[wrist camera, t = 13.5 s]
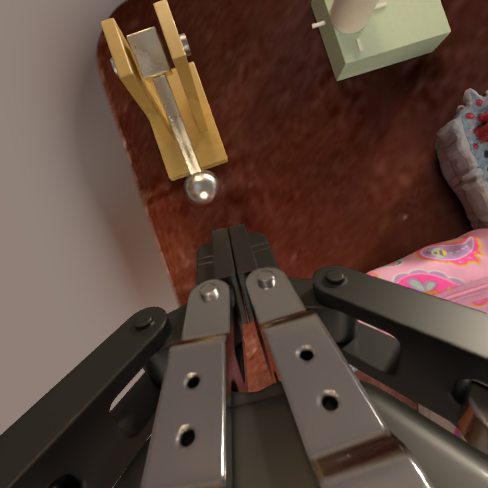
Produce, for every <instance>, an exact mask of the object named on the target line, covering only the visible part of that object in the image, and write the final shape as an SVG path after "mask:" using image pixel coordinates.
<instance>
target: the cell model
mask: <svg viewBox="0 0 488 488" xmlns="http://www.w3.org/2000/svg"><path fill="white" fill-rule="evenodd" d="M463 102H464V105H465V106H463V105H461V106H459V107H458V108H457V109H456V113H457V114H456V116H455V117H454V118H453V120H452V121H450V122H448V123H447V124H446V125H445V126H444V127H443V128H441V129H440V130H439V131H437V137H436V139H435V141H434V147H435V149H436V151H437V157H438V159H439V161H440V168H441V171H442V174H443V177H444V178H445V180H446V181H447V183H448V186H450V187H451V189H452V190H453V192H454V193H455V194H456V195H457V197H458V198H459V200H460V201H461V203H462V204H463V207H464V209H465V212H466V216H467V218H468V219H469V220H470V226H471V227H472V228H473V230H477V229H483V228H484V229H488V91H486V92H484V93H483V95H482V96H480V95H479V94H478V93H477V92H476V91H475V90H473V89H471V88H470V89H468V90H466V91H465V93H464V96H463Z"/></svg>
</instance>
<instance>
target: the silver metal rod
mask: <svg viewBox="0 0 488 488" xmlns="http://www.w3.org/2000/svg"><path fill="white" fill-rule="evenodd" d="M126 37H127V40H128V42H129V45H130V47H131V50H132V52H133V54H134V57H135V59H136V62H137V64H138V67H139V69H140V71H141V74H142V76H143V79H144V80H146V81H147V82H149V83H150V82H154V85H155V87H156V90H157V92H158V95H159V97H160V100H161V102H162V105H163V107H164V110H165V112H166V115H167V117H168V120H169V122H170V125H171V127H172V130H173V132H174V135H175V137H176V140H177V143H178V145H179V148H180V150H181V153H182V155H183V158H184V160H185V163H186V165H187V168H188V170H189V173H190V174H189V175H188V176H187V178H186V180H185V182H184V186H183V190H184V195H185V197H186V199H187V200H188V201H189V202H190V203H191V204H192V205H194V206H196V207H199V208H206V207H210V206H212V205H214V204H215V203H216V202H217V201H218V199H219V197H220V195H221V184H220V181H219V179H218V178H217V176H216V175H215V174H213V173H212V172H210V171H207V170H202V169H201V167H200V164H199V161H198V159H197V156H196V153H195V151H194V148H193V145H192V143H191V140H190V137H189V135H188V132H187V129H186V127H185V124H184V121H183V119H182V116H181V113H180V111H179V108H178V105H177V103H176V100H175V97H174V94H173V92H172V89H171V86H170V84H169V81H168V78H167V76H170V75H173V72H172V69H171V66H170V64H169V61H168V58H167V55H166V53H165V50H164V47H163V44H162V42H161V39H160V36H159V34H158V32H157V30H156V28H155V27H151V28H148V29H145V30H142V31H139V32H136V33H133V34H130V35H127V36H126Z"/></svg>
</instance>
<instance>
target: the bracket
mask: <svg viewBox="0 0 488 488" xmlns="http://www.w3.org/2000/svg"><path fill="white" fill-rule="evenodd" d="M153 5H154V8H155V11H156V14H157V17H158V19H159V22H160V25H161V28H162V31H163V34H164V37H165V39H166V42H167V45H168V48H169V51H170V54H171V57H172V60H173V62H174V65H175V68H174V69H172V72H173V75H170V76H167V78H168V81H169V84H170V86H171V89H172V92H173V94H174V97H175V100H176V103H177V105H178V108H179V111H180V113H181V116H182V119H183V121H184V124H185V127H186V129H187V132H188V135H189V137H190V140H191V143H192V145H193V148H194V151H195V153H196V156H197V159H198V161H199V164H200V167H201V169H202V170H206V169H209V168H212V167H214V166H217V165H220V164H223V163H226V162H228V159H227V155H226V153H225V150H224V147H223V144H222V141H221V138H220V135H219V133H218V130H217V127H216V124H215V121H214V118H213V116H212V113H211V110H210V107H209V104H208V101H207V99H206V96H205V93H204V90H203V87H202V84H201V81H200V79H199V76H198V73H197V70H196V67H195V64H194V62H191V63H188V61H187V57H186V56H189V55H191V51H190V48H189V45H188V42H187V39H186V36H185V34H184V33H183V34H181V35H179V34H178V31H177V28H176V26H175V23H174V20H173V17H172V14H171V11H170V9H169V6H168V3H167V0H162V1H159V2H156V3H154V4H153ZM101 25H102V28H103V31H104V34H105V37H106V40H107V43H108V46H109V49H110V52H111V55H112V58H111V59H110V62H111V65H112V67H113V70H114V72H115V73H116V75H117V77H118V78H119V79H121V81H122V82H123V84H124V85H125V86H126V88H127V89H128V91H129V92H130V93H131V95H132V96H133V98H134V99H135V100H136V102H137V103H138V105H139V106H140V107H141V109H142V110H143V112H144V113H145V114H146V116H147V117H148V118H149V120H150V123H151V126H152V129H153V132H154V135H155V138H156V141H157V144H158V147H159V150H160V153H161V155H162V158H163V161H164V164H165V167H166V170H167V173H168V176H169V178H170V179H171V180H172V181H174V180H177V179H180V178H183V177H186V176H188V175H189V174H190V173H189V170H188V168H187V165H186V163H185V160H184V158H183V155H182V153H181V150H180V148H179V145H178V143H177V140H176V137H175V135H174V132H173V130H172V127H171V125H170V122H169V120H168V117H167V115H166V112H165V110H164V107H163V105H162V102H161V100H160V97H159V95H158V92H157V90H156V87H155V85H154V82H150V83H149V82H147V81H146V80H144V79H143V76H142V74H141V71H140V69H139V67H138V64H137V62H136V59H135V57H134V54H133V52H132V50H131V48H130V47H129V45H128V43H127V41H126V39H125V38H124V36H123V34H122V32H121V31H120V29H119V27H118V25H117V23H116V22H115V20H114V18H110V19H107V20H105V21H102V22H101Z"/></svg>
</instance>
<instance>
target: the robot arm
mask: <svg viewBox="0 0 488 488" xmlns="http://www.w3.org/2000/svg"><path fill="white" fill-rule="evenodd" d="M229 231H230V235H229ZM229 231H228V228H223V229H219V230H215V231H211V233H212V242H211V243H207V244H202V246H201V247H200V249H199V250H198V252H197V277H196V286H195V287H194V288H193V289H192V291H191V292H190V294H189V298H188V303H186V304H185V305H184V306H182V307H180V308H178V309H176V310H174V311H172V312H170V313H168V314H167V313H166V312H165V310H163V309H162V308H159V307H149V308H146V309H143V310H140V311H139V312H137V313H135V314H134V315H133V316H131V317H130V318H129V319H128V320H127V321H126V322H125V323H124V324H122V325H121V326H120V327H119V328H118V329H117V330H116V331H115V332H114V333H113V334H111V335H110V336H109V337H108V338H107V339H106V340H105V341H104V342H103V343H102V344H100V345H99V346H98V347H97V348H96V349H95V350H94V351H93V352H92V353H91V354H89V355H88V356H87V357H86V358H85V359H84V360H83V361H82V362H81V363H80V364H79V365H78V366H76V367H75V368H74V369H73V370H72V371H71V372H70V373H69V374H67V375H66V376H65V377H64V378H63V379H62V380H61V381H60V382H59V383H58V384H56V386H54V387H53V388H52V389H51V390H50V391H49V392H48V393H47V394H45V395H44V396H43V397H42V398H41V399H40V400H39V401H38V402H37V403H36V404H34V405H33V406H32V407H31V408H30V409H29V410H28V411H27V412H26V413H25V414H24V415H22V416H21V417H20V418H19V419H18V420H17V421H16V422H15V423H14V424H13V425H11V426H10V427H9V428H8V429H7V430H6V431H5V432H4V433H3V434H2V435H0V488H112V487H113V486H114V485H115V486H114V487H113V488H488V313H486V312H483V311H480V310H477V309H474V308H471V307H468V306H464V305H461V304H458V303H455V302H452V301H449V300H446V299H443V298H440V297H437V296H433V295H430V294H427V293H424V292H421V291H418V290H415V289H412V288H409V287H406V286H402V285H399V284H396V283H393V282H390V281H387V280H384V279H381V278H378V277H375V276H372V275H368V274H365V273H362V272H359V271H356V270H353V269H350V268H347V267H343V266H326V267H323V268H321V269H319V270H317V271H316V272H315V273H314V275H313V278H312V279H295V278H291V277H288V276H286V274H285V273H284V271H282V270H281V269H279V266H278V264H277V262H276V259H275V257H274V254H273V252H272V250H271V247H270V245H269V243H268V240H267V238H266V236H265V235H263V234H262V233H260V232H259V231H258V232H254V233H250V234H248V233H247V230H246V227H245V224H240V225H236V226H232V227H229ZM230 237H231V240H230ZM231 242H232V244H231ZM232 247H233V248H232ZM242 294H243V295H242ZM243 298H244V300H243ZM244 302H245V305H244ZM245 306H246V310H247V314H248V318H249V322H255V326H256V330H257V334H258V338H259V342H260V345H261V348H262V351H263V354H264V357H265V361H266V364H267V367H268V370H269V373H270V376H271V379H272V382H273V384H272V385H270V386H268V387H266V388H264V389H262V390H261V391H258V392H248V383H247V369H246V355H245V343H244V338H243V336H244V332H243V326H242V324H246V323H248V321H247V315H246V310H245ZM358 320H360V321H362V322H364V323H367V324H369V325H371V326H373V327H376V328H378V329H380V330H382V331H385V332H387V333H389V334H391V335H392V336H394V337H395V338H394V337H391V336H389V335H387V334H385V333H382V332H380V331H378V330H376V329H373V328H371V327H369V326H367V325H365V324H362V323H360V322H358ZM349 364H350V365H351V366H353V367H355V368H357V369H358V370H360V371H362V372H364V373H365V374H367V375H369V376H371V377H372V378H374V379H376V380H378V381H380V382H381V383H383V384H385V385H387V386H388V387H390V388H392V389H394V390H395V391H397V392H399V393H401V394H402V395H404V396H406V397H408V398H409V399H411V400H413V401H415V402H416V403H418V404H420V405H422V406H423V407H425V408H427V409H429V410H431V411H432V412H434V413H436V414H438V415H439V416H441V417H443V418H445V419H446V420H448V421H450V422H452V423H453V424H455V425H457V426H459V429H460V431H461V433H462V435H463V437H464V438H465V440H466V441H467V442H466V441H464V440H463V439H461V438H459V437H458V436H456V435H454V434H453V433H451V432H450V431H448V430H446V429H445V428H443V427H442V426H440V425H438V424H437V423H435V422H434V421H432V420H430V419H429V418H427V417H425V416H424V415H422V414H421V413H419V412H417V411H416V410H414V409H413V408H411V407H409V406H408V405H406V404H404V403H403V402H401V401H400V400H398V399H396V398H395V397H393V396H392V395H390V394H388V393H387V392H385V391H383V390H382V389H380V388H378V387H376V386H374V385H371V384H369V383H366V382H364V381H361V380H358V378H357V376H356V375H355V373H354V372H353V370H352V368H351V367H350V365H349ZM142 368H143V369H144V370H145V373H144V374H143V375H142V376H141V377H140V378H139V380H138V381H137V382H136V383H135V384H134V385H133V387H132V388H131V389H130V390H129V391H128V392H127V393H126V395H125V396H124V397H123V398H122V399H121V400H120V401H119V403H118V404H117V405H116V406H115V407H114V408H113V409H112V410H111V411H110V406H111V404H112V402H113V401H114V399H115V398H116V397H117V395H118V394H119V393H120V392H121V391H122V390H123V389H124V388H125V387H126V385H127V384H128V383H129V382H130V381H131V380H132V379H133V377H134V376H135V375H136V374H137V373H138V372H139V371H140V369H142ZM109 411H110V412H109ZM151 433H152V434H151ZM150 435H151V436H150ZM149 436H150V437H149ZM148 438H149V439H148ZM147 439H148V440H147ZM146 440H147V441H146ZM125 469H126V470H125ZM123 472H124V473H123ZM120 476H121V477H120ZM118 479H119V480H118ZM117 480H118V481H117ZM116 482H117V483H116ZM115 483H116V484H115Z"/></svg>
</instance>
